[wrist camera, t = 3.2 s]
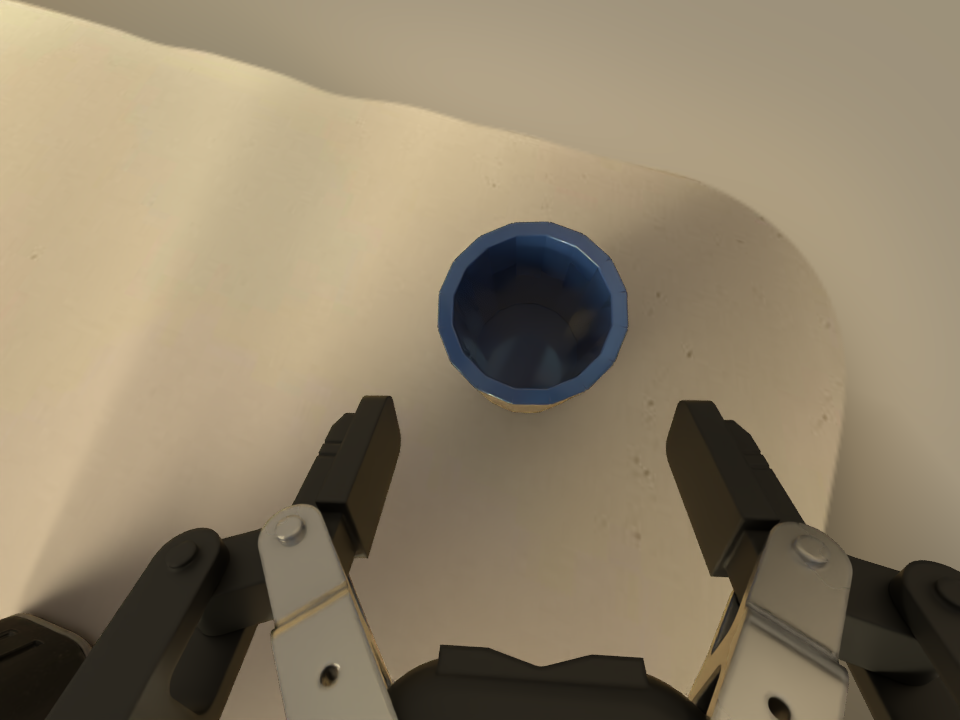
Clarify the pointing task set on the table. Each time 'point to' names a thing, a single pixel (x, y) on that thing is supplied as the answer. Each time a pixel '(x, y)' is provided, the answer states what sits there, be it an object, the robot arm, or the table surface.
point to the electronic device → (35, 665)
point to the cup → (532, 315)
